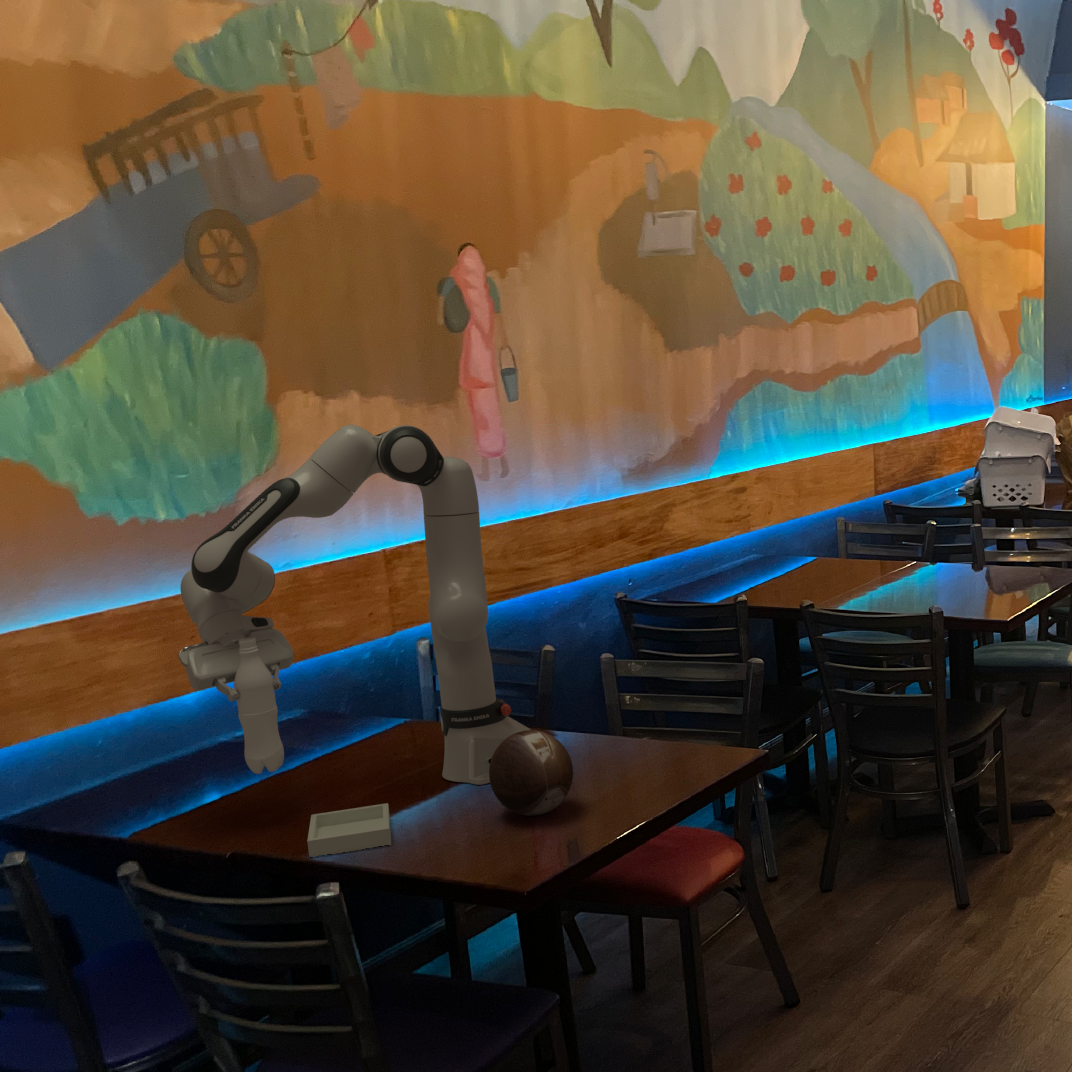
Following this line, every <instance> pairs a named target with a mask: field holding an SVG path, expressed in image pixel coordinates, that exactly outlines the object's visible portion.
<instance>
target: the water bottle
mask: <svg viewBox="0 0 1072 1072" xmlns="http://www.w3.org/2000/svg"><path fill="white" fill-rule="evenodd" d="M239 645H240V649H239V650H240V651H239V654H241V660H240V664H239V667H238V670H237V673H236V676H235V680H234V682H233V688H236V689H237V692H238V693H239V698H238V700H236V703H237V709H238V713H237V714H238V720H239V722H240V725H241V728H242V731H243V737H244V738H243V739H244V752H243V754H244V760H245V762H246V765H247V767H248V768H249V769H250V770H251V772H252V773H254V774H256V775H257V774H258V775H260V774H262V773H263V771H264V768H265V767H266V769H267V770H268V772H269V773H273V772H275V771H277V770H278V769H279V768H281V767H282V766H283V764H284V760H285V749H284V744H283V742H282V740H281V737H280V733H279V727H278V714H279V713H278V712H279V711H278V710H279V709H278V706H277V703H276V701H277V700H276V694H275V690H274V687H273V676H272V675H271V673H270V671H269V670H268V669H267V667H266V666H265V665H264V663H263V662H262V661H261V659H260V657H259V655H258V652H257V651H258V648H257V646H256V640H255V638H245V639H241V640H239Z"/></svg>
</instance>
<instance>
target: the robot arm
mask: <svg viewBox="0 0 1072 1072" xmlns="http://www.w3.org/2000/svg"><path fill="white" fill-rule="evenodd" d="M379 473H380V474H384V475H386V476H387V477H388V478H390V479H392V480H394V481H397V482H400V483H406V484H411V485H416V486H417V487H418V488H419V491H420V494H421V498H422V505H423V524H424V527H423V528H424V537H425V538H424V539H425V541H424V542H425V555H426V563H427V573H428V583H429V584H428V585H429V593H430V595H429V598H428V605H427V609H428V615H429V621H430V631H431V636H432V643H433V651H434V658H435V663H436V671H437V679H438V686H439V693H440V694H439V695H440V704H441V705H440V708H439V712H440V713H439V717H440V724H441V725H440V726H441V731H442V734H443V736H444V755H443V756H444V759H443V765H442V766H443V767H442V768H443V769H442V773H441V776H442V778H443V779H445V780H447V781H451V782H456V783H457V782H458V783H467V784H472V785H477V786H479V785H480V786H481V785H486V784H490V779H489V767H490V762H491V759H492V756H493V754H494V752H495V750H496V749H497V747H498V746H499V745H500V744H501V743H502V742H503V741H504V740H505V739H506V738H508V737H509V736H511V735H513V734H515V733H517V732H521V731H526V730H531V728H529V727H527V726H526V725H524V724H522V723H521V722H518V721H517V720H515V719H514V718H512V717H510V714H511V713H512V709H511V706H510V705H509V704H507V702H506V701H504V700H503V699H502V698H500V699H499V698H497V695H496V688H495V679H494V671H493V662H492V657H491V652H490V648H489V647H490V646H489V642H488V641H489V640H488V634H487V629H486V626H487V624H488V620H489V606H488V595H487V593H488V592H487V585H486V577H485V575H486V574H485V568H484V559H483V552H482V535H481V519H480V506H479V497H478V491H477V485H476V480H475V477H474V472H473V469H472V467H471V466H470V464H469V463H468V462H467V461H466V460H463V459H461V458H458V457H455V456H454V457H453V456H446V457H445V456H443V455H442V454H441V452H440V450H439V449H438V448H437V446H436V444H435V443H434V441H433V439H432V438H431V437H430V436H429V435H428V434H427V433H426V432H425V431H423V430H422V429H420V428H418V427H417V426H414V425H410V424H406V425H405V424H403V425H402V424H401V425H398V426H394V427H393V428H390V429H389V430H386V431H384V432H381V433H378V434H375V435H374V434H372V433H371V432H370V431H368V430H367V429H365V428H363V427H361V426H359V425H355V424H346V425H343V426H342V427H340V428H339V429H337V430H336V431H335V432H334V433H333V434H331V436H329V437H328V438H327V439H326V440H325V441H324V442H323V443H322V444H320V446H319V447H318V448H316V450H315V451H314V452H313V453H312V454H311V455H310V457H308V458H307V460H306V461H305V462H304V463H303V464H302V465H301V466H300V467H299V468H298V469H296V470H295V471H294V472H292V473H291V474H289V475H288V476H287V477H284V478H281V479H278V480H277V481H275V482H273V483H272V484H271V485H269V486H268V487H267V488H266V489H264V490H263V491H262V492H261V493H260V494H259V495H257V497H256V498H255V499H254V500H252V501H251V502H250V503H249V504H248V505H247V506H245V508H244V509H243V510H241V511H240V512H239V513H238V515H236V516H235V517H234V518H233V519H232V520H231V521H230V522H229V523H228V524H227V525H225V526H224V527H223V528H222V529H221V530H219V531H218V532H216V533H215V534H213V535H211V536H210V537H209V538H207V539H205V540H204V541H203V542H202V543H201V544H200V545H199V546H198V547H197V548H196V550H194V553H193V556H192V559H191V568H190V569H189V570H188V571H187V572H186V573H185V574H184V575H183V577H182V578H181V581H180V587H179V588H180V595H181V600H182V602H183V605H184V607H185V609H186V612H187V614H188V616H189V618H190V620H191V622H192V623H193V624H195V625H196V627H197V632H198V635H199V638H200V640H201V641H202V642H200V643H196V644H192V645H187V646H184V647H182V649H181V650H179V652H178V658H179V659H178V660H179V661H180V663H181V665H182V666H184V667H185V672H186V676H187V678H188V681H189V684H190V686H191V688H192V689H194V690H196V691H203V690H207V689H210V688H214V687H215V688H216V690H217V691H219V693H221V694H223V695H225V696H226V697H227V699H228V700H229V702H234V701H235V702H236V701H237V700H238V698H239V693H238V692H237V689H236V688H234V687H232V688H231V686H229V685H228V684H230V683H234V680H235V676H236V673H237V670H238V667H239V664H240V660H241V654H239V651H240V650H239V649H240V645H239V640H241V639H245V638H255V640H256V646H257V648H258V651H257V652H258V655H259V657H260V659H261V661H262V662H263V663H264V665H265V666H266V667H267V669H268V670H269V671H270V673H271V675H272V678H273V687H274V691H277V690H280V689H281V687H282V682H281V680H280V678H279V673H280V671H281V670H286V669H289V668H290V667H291V666H292V663H293V661H294V657H295V653H294V649H293V648H292V646H291V645H290V643H289V641H288V640H287V638H286V637H285V635H284V634H283V633H282V632H281V630H278V629H276V628H274V621H273V619H272V618H271V617H266V616H263V617H262V616H261V617H260V616H250V615H243V614H245V613H247V612H249V611H251V610H252V609H254V608H255V607H257V606H258V605H260V604H261V603H263V602H264V601H266V600H267V599H268V597H269V596H270V595H271V594H272V592H273V590H274V588H275V583H276V574H275V571H274V568H273V566H272V565H271V564H270V563H269V562H268V561H265V560H263V559H262V558H260V557H259V556H257V555H256V554H253V553H252V552H249V550H250V549H251V548H252V547H253V546H254V545H255V544H257V542H258V541H259V540H260V539H261V538H262V537H264V535H266V533H268V532H269V531H270V530H271V529H272V528H273V527H274V526H275V525H277V524H278V523H279V522H282V521H283V520H286V519H290V518H299V517H301V518H303V517H304V518H312V519H318V518H319V519H321V518H322V519H323V518H326V517H330V516H333V515H334V514H336V513H337V512H338V511H339V510H341V509H342V508H343V507H344V506H345V505H346V504H347V503H348V501H349V500H351V498H352V497H353V495H354V494H355V493H356V492H357V491H358V489H359V488H360V487H361V486H362V485H363V484H364V482H365V481H366V480H367V479H368V478H370V477H372V476H373V475H376V474H379Z"/></svg>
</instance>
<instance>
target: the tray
mask: <svg viewBox="0 0 1072 1072" xmlns="http://www.w3.org/2000/svg"><path fill="white" fill-rule="evenodd" d="M390 814H391V813H390V808H389V802H388V803H386V802H385V803H380V804H375V805H373V804H372V805H367V806H359V807H355V808H347V809H342V810H334V811H328V812H321V813H314V814H311V815H310V822H309V829H308V834H307V840H306V842H307V849H308V857H309V858H310V856H319V855H325V856H328V855H327V854H332V855H337V853H338V854H342V853H343V852H345V853H350V851H351V852H355V851H356V850H357V851H363V850H362V849H364V850H366V849H365V848H370V849H373V848H372V847H377V846H383V847H385V846H384V845H390V846H392V833H391V831H392V829H391V815H390ZM377 848H378V847H377ZM319 857H320V856H319Z"/></svg>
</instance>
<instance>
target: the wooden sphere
mask: <svg viewBox="0 0 1072 1072" xmlns="http://www.w3.org/2000/svg"><path fill="white" fill-rule="evenodd" d="M573 778H574V767H573V762H572V759H571V756H570V754H569V752H568V751H567V749H566V747H565V746H564V745H563V743H562V742H561V741H560V740H559V739H557V738H556V737H555V736H553V735H551V734H549V733H547V732H544V731H542V730H541V731H540V730H533V729H530V730H526V731H521V732H517V733H515V734H513V735H511V736H509V737H508V738H506V739H505V740H504V741H503V742H502V743H501V744H500V745H499V746H498V747H497V749H496V750H495V752H494V754H493V756H492V759H491V762H490V767H489V779H490V783H489V784H490V787H491V790H492V792H493V793H494V796H495V798H496V799H497V800H498V801H499V803H501V805H502V806H503V807H505V808H506V809H508V810H509V811H511V812H513V813H515V814H518V815H521V816H527V817H528V816H529V817H530V816H531V817H532V816H533V817H535V816H541V815H544V814H547V813H549V812H551V811H553V810H555V809H556V808H557V807H558V806H560V805H561V804H562V802H563V801H564V800H565V799H566V797H567V796H568V794H569V792H570V790H571V788H572V784H573V781H574V780H573Z"/></svg>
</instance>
